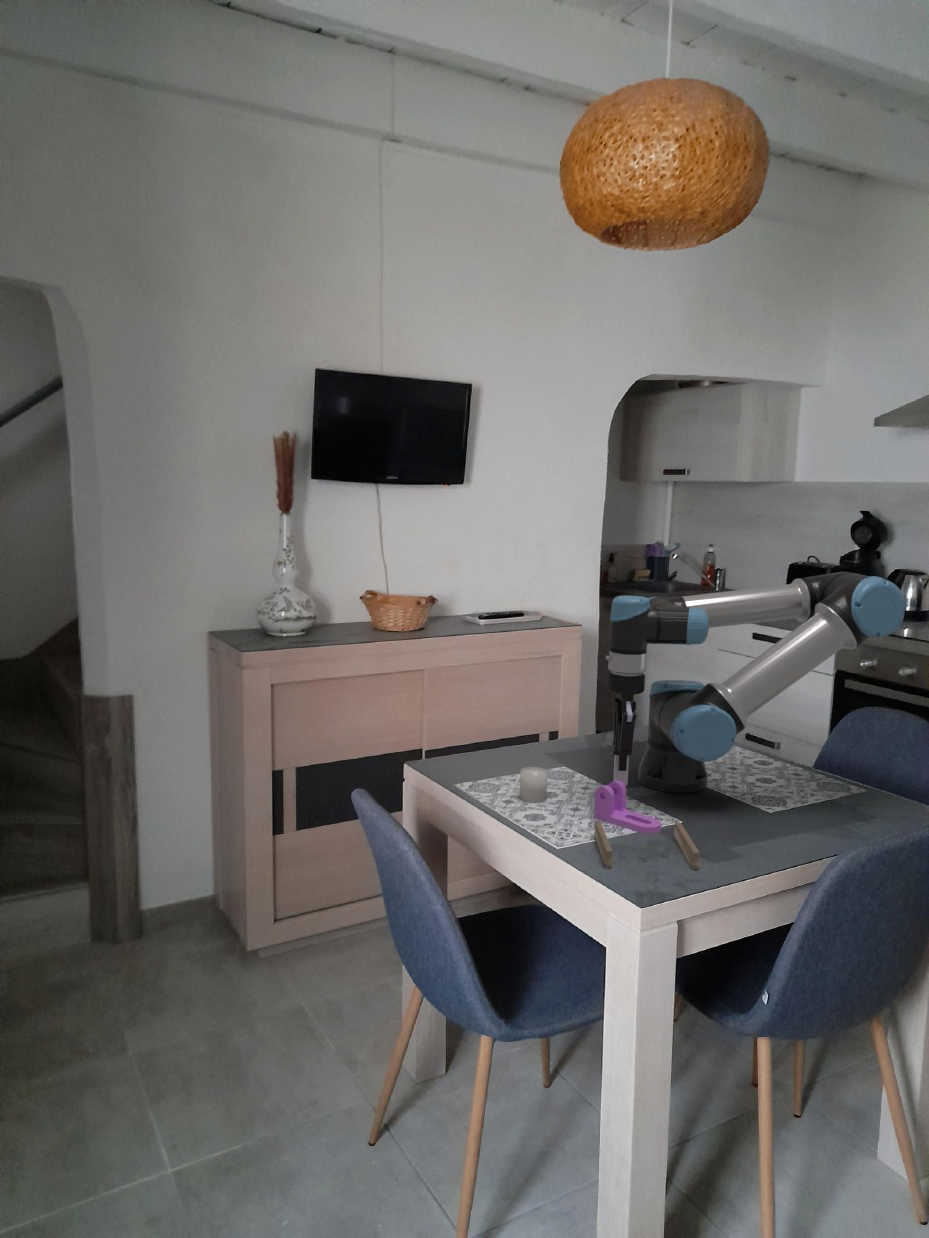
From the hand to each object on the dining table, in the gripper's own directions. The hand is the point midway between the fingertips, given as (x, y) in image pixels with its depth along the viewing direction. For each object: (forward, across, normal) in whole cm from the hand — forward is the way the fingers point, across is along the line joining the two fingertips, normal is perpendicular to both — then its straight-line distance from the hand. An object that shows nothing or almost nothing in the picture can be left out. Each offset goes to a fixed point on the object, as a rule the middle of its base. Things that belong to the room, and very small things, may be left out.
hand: (620, 783), depth 183 cm
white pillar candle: (+5, -2, -18) cm, 18 cm away
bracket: (+5, +10, 0) cm, 11 cm away
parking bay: (+4, +24, 0) cm, 25 cm away
